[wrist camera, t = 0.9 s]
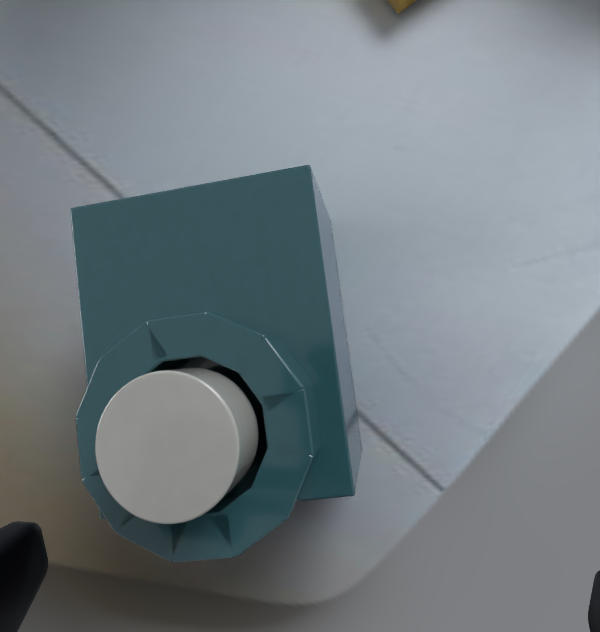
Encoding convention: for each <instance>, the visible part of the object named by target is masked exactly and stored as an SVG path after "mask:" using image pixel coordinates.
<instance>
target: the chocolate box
mask: <svg viewBox="0 0 600 632" xmlns="http://www.w3.org/2000/svg"><path fill="white" fill-rule="evenodd" d="M387 1H388V2H389V4H390V5H391V6H392V7H393V9H394V10H395V11H396V13H397V14H399V13H400V12H401V11H403V10H404V9H406V8H407V7H408V6H410V5H411V4H412V3H414V2H415V1H416V0H387Z"/></svg>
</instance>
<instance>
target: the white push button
mask: <svg viewBox="0 0 600 632" xmlns="http://www.w3.org/2000/svg"><path fill="white" fill-rule="evenodd" d="M257 446H258V424H257V419H256V415H255V412H254V409H253V407H252V405H251V403H250V401H249V399H248V398H247V396H246V394H245V393H244V392H243V391H242V390H241V388H240V387H239V386H238V385H237V384H235V383H234V382H233V381H232V380H230V379H229V378H228V377H226V376H224V375H222V374H220V373H218V372H216V371H213V370H209V369H205V368H182V369H172V370H162V371H155V372H150V373H147V374H144V375H141V376H139V377H137V378H135V379H133V380H131V381H130V382H128V383H127V384H126V385H124V386H123V387H122V388H121V389H120V390H119V391H118V392H117V393H116V394H115V395H114V396H113V397H112V398H111V400H110V401H109V403H108V404H107V406H106V408H105V410H104V412H103V414H102V416H101V418H100V421H99V424H98V428H97V433H96V442H95V453H96V461H97V466H98V469H99V473H100V476H101V478H102V480H103V483H104V484H105V486H106V488H107V490H108V491H109V493H110V494H111V495H112V497H113V498H114V499H115V500H116V501H117V502H118V503H119V504H120V505H121V506H122V507H123V508H124V509H126V510H127V511H128V512H130V513H131V514H133V515H135V516H136V517H139V518H141V519H144V520H146V521H150V522H154V523H160V524H178V523H184V522H187V521H190V520H193V519H196V518H198V517H200V516H202V515H203V514H205V513H206V512H208V511H210V510H211V509H212V508H213V507H214V506H215V505H217V504H218V503H219V502H220V501H221V500H222V499H223V498H224V497H225V496H226V495H227V494H228V493H229V492H230V491H231V490H232V489H233V488H234V487H235V486H236V485H237V484H238V483H239V482H240V481H241V480H242V479H243V478H244V477H245V475H246V474H247V472H248V471H249V469H250V467H251V465H252V463H253V461H254V458H255V455H256V451H257Z"/></svg>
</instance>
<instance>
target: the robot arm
mask: <svg viewBox="0 0 600 632" xmlns="http://www.w3.org/2000/svg"><path fill="white" fill-rule="evenodd" d="M47 568H48V557H47V553H46V548H45V544H44V539H43V535H42V530H41V528H40V526H39V525H38V524H36V523H32V522H20V521H18V522H12V523H10V524H8V525H6V526H4V527H2V528H0V632H17V631H18V629H19V628H20V625H21V623H22V622H23V620H24V617H25V616H26V614H27V611H28V610H29V608H30V605H31V604H32V602H33V600H34V598H35V596H36V594H37V592H38V590H39V588H40V585H41V584H42V582H43V580H44V578H45V575H46V572H47ZM588 621H589V627H590V632H600V571H598V572H597V573H596V575H595V578H594V583H593V589H592V594H591V600H590V605H589V611H588Z"/></svg>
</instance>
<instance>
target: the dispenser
mask: <svg viewBox="0 0 600 632" xmlns="http://www.w3.org/2000/svg"><path fill="white" fill-rule="evenodd" d="M70 212H71V223H72V233H73V243H74V254H75V264H76V275H77V285H78V295H79V306H80V316H81V327H82V337H83V347H84V358H85V368H86V379H87V389H86V392H85V394H84V397H83V399H82V401H81V404H80V406H79V409H78V411H77V414H76V417H77V418H76V427H77V438H78V448H79V459H80V470H81V478H82V479H83V480H82V483H83V484H84V486H85V487H86V489H87V490H88V492H89V493H90V495H91V496H92V498H93V499H94V501H95V502H96V504H97V505H98V507H99V514H100V519H107V521H108V522H109V524H110V525H111V527H112V528H113V530H114V531H115V532H116V533H117V534H118V535H119V536H121V537H123V538H125V539H127V540H129V541H131V542H133V543H135V544H137V545H139V546H141V547H143V548H145V549H147V550H149V551H151V552H153V553H155V554H157V555H158V556H160V557H162V558H164V559H166V560H168V561H170V562H186V561H198V560H211V559H224V558H234V557H237V556H239V555H240V554H242V553H243V552H244V551H246V550H247V549H248V548H250V547H251V546H252V545H254V544H255V543H256V542H258V541H259V540H260V539H262V538H263V537H264V536H266V535H267V534H268V533H270V532H271V531H272V530H274V529H275V528H276V527H278V526H279V525H281V524H282V523H283V522H285V521H286V520H287V519H288V517H289V516H290V514H291V513H292V511H293V509H294V507H295V505H296V503H297V501H304V500H315V499H326V498H337V497H347V496H354V494H355V489H356V483H357V477H358V471H359V465H360V459H361V453H362V444H361V437H360V430H359V422H358V415H357V408H356V401H355V393H354V386H353V379H352V372H351V364H350V357H349V350H348V343H347V335H346V328H345V321H344V314H343V306H342V299H341V292H340V285H339V277H338V270H337V263H336V256H335V248H334V241H333V234H332V227H331V220H330V218H329V215H328V212H327V210H326V207H325V204H324V202H323V199H322V196H321V193H320V191H319V188H318V185H317V183H316V180H315V177H314V175H313V172H312V169H311V167H310V165H305V166H299V167H294V168H288V169H283V170H277V171H272V172H267V173H261V174H256V175H250V176H245V177H239V178H234V179H228V180H223V181H217V182H212V183H206V184H201V185H195V186H190V187H185V188H179V189H174V190H168V191H163V192H157V193H152V194H146V195H141V196H135V197H130V198H124V199H119V200H113V201H108V202H102V203H97V204H92V205H86V206H81V207H75V208H71V209H70ZM182 368H205V369H209V370H213V371H216V372H218V373H220V374H222V375H224V376H226V377H228V378H229V379H230V380H232V381H233V382H234V383H235V384H237V385H238V386H239V387H240V388H241V390H242V391H243V392H244V393H245V394H246V396H247V398H248V399H249V401H250V403H251V405H252V407H253V409H254V412H255V415H256V419H257V424H258V446H257V451H256V455H255V458H254V461H253V463H252V465H251V467H250V469H249V471H248V472H247V474H246V475H245V477H244V478H243V479H242V480H241V481H240V482H239V483H238V484H237V485H236V486H235V487H234V488H233V489H232V490H231V491H230V492H229V493H228V494H227V495H226V496H225V497H224V498H223V499H222V500H221V501H220V502H219V503H218V504H217V505H215V506H214V507H213V508H212V509H211V510H210V511H208V512H206V513H205V514H203V515H202V516H200V517H198V518H196V519H193V520H190V521H187V522H184V523H178V524H160V523H154V522H150V521H146V520H144V519H141V518H139V517H136V516H135V515H133V514H131V513H130V512H128V511H127V510H126V509H124V508H123V507H122V506H121V505H120V504H119V503H118V502H117V501H116V500H115V499H114V498H113V497H112V495H111V494H110V493H109V491H108V490H107V488H106V486H105V484H104V483H103V480H102V478H101V476H100V473H99V469H98V466H97V461H96V453H95V442H96V433H97V428H98V424H99V421H100V418H101V416H102V414H103V412H104V410H105V408H106V406H107V404H108V403H109V401H110V400H111V398H112V397H113V396H114V395H115V394H116V393H117V392H118V391H119V390H120V389H121V388H122V387H123V386H124V385H126V384H127V383H128V382H130V381H131V380H133V379H135V378H137V377H139V376H141V375H144V374H147V373H150V372H155V371H162V370H172V369H182Z"/></svg>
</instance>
